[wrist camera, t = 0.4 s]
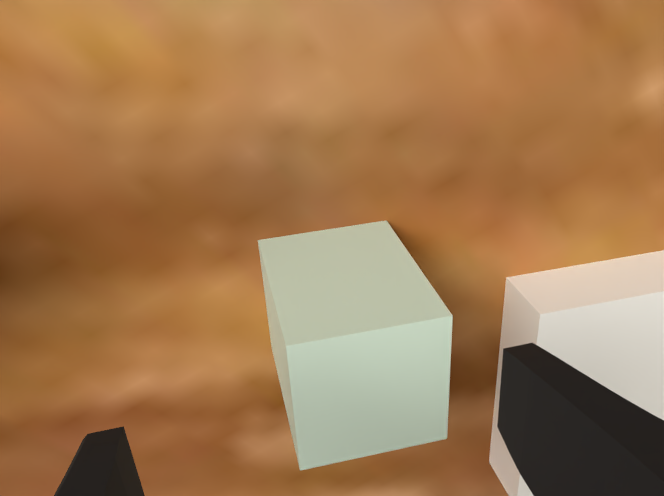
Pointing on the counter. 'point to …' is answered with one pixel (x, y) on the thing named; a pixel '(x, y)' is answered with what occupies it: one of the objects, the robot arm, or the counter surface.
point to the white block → (589, 333)
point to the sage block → (356, 343)
